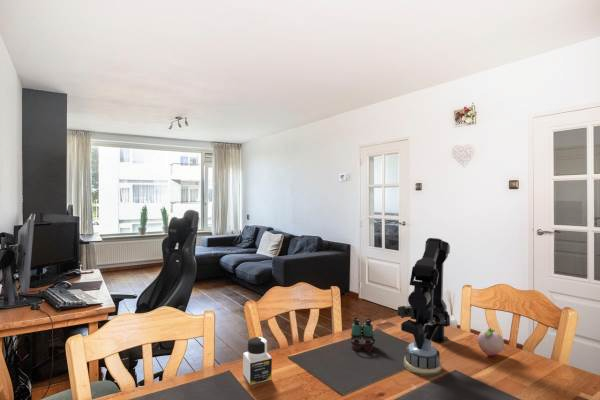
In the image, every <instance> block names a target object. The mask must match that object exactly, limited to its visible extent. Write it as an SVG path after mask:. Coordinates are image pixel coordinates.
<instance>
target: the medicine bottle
mask: <svg viewBox="0 0 600 400" xmlns="http://www.w3.org/2000/svg"><path fill="white" fill-rule="evenodd" d="M272 362H273V359H272V356H271V355H270V354H269V353H268V341H267V339H266V338H264V337H262V336H261V337H260V336H255V337H254V336H253V337H252V338H250V339H249V340H248V341H247V351H245V352H243V353H242V374H243V375H242V376H244V378H245V379H246V380H247V382H248V384H249V385H250V386H251V385H255V384H259V383H263V382H267V381H271V380H272V372H273V371H272V370H273V369H272V367H273V366H272V364H273V363H272Z"/></svg>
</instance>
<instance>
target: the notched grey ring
mask: <svg viewBox="0 0 600 400" xmlns="http://www.w3.org/2000/svg"><path fill="white" fill-rule="evenodd" d="M408 348H409V345H406V347H405V349H406V350H405V355H404V357H403V366H404V368H405V370H407V371H408V372H410V373H412V374H414V375H417V376H421V377H436V376H438V375H439V376H440V374H441V373H442V362H441V361H440V360H441V357H440V355H441V354H440V351H439V350H438V349H437V354H436V355H435V356H433V357H421V356H417V355H415V354H413V353H411V352H410V351H409V349H408Z"/></svg>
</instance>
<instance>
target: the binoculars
mask: <svg viewBox="0 0 600 400" xmlns="http://www.w3.org/2000/svg"><path fill="white" fill-rule="evenodd" d="M371 322H372V318H370V317H369V318H366V319H365V322H360V319H359V318H358V317H353V323H352V325H351V332H350V337H351V338H350V344H351V349H352V350H353V351H356V352H359V351H360V350H361V348H363V349H364V351H366V352H371V351H373V349H374V347H373V346H374V344H375V342H376V339H375V337H374V327H373V324H372V323H371ZM362 339H363V341H364V343H360V341H361V340H362Z"/></svg>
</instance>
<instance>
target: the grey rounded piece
mask: <svg viewBox="0 0 600 400" xmlns="http://www.w3.org/2000/svg"><path fill="white" fill-rule="evenodd" d="M413 339H414V341H413V342H411V343H409V344H408V346H409V348H408V349H409V351H410V352H411V353H413V354H415V355H417V356H421V357H433V356H435V355H436V354H437V350H438V349H437V348H436V347H435V346H434V345H432V340H427V339H425V341H424V343H423V346H422V348H421V350H420V349H418V348H417V345H416V341H415V338H413Z"/></svg>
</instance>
